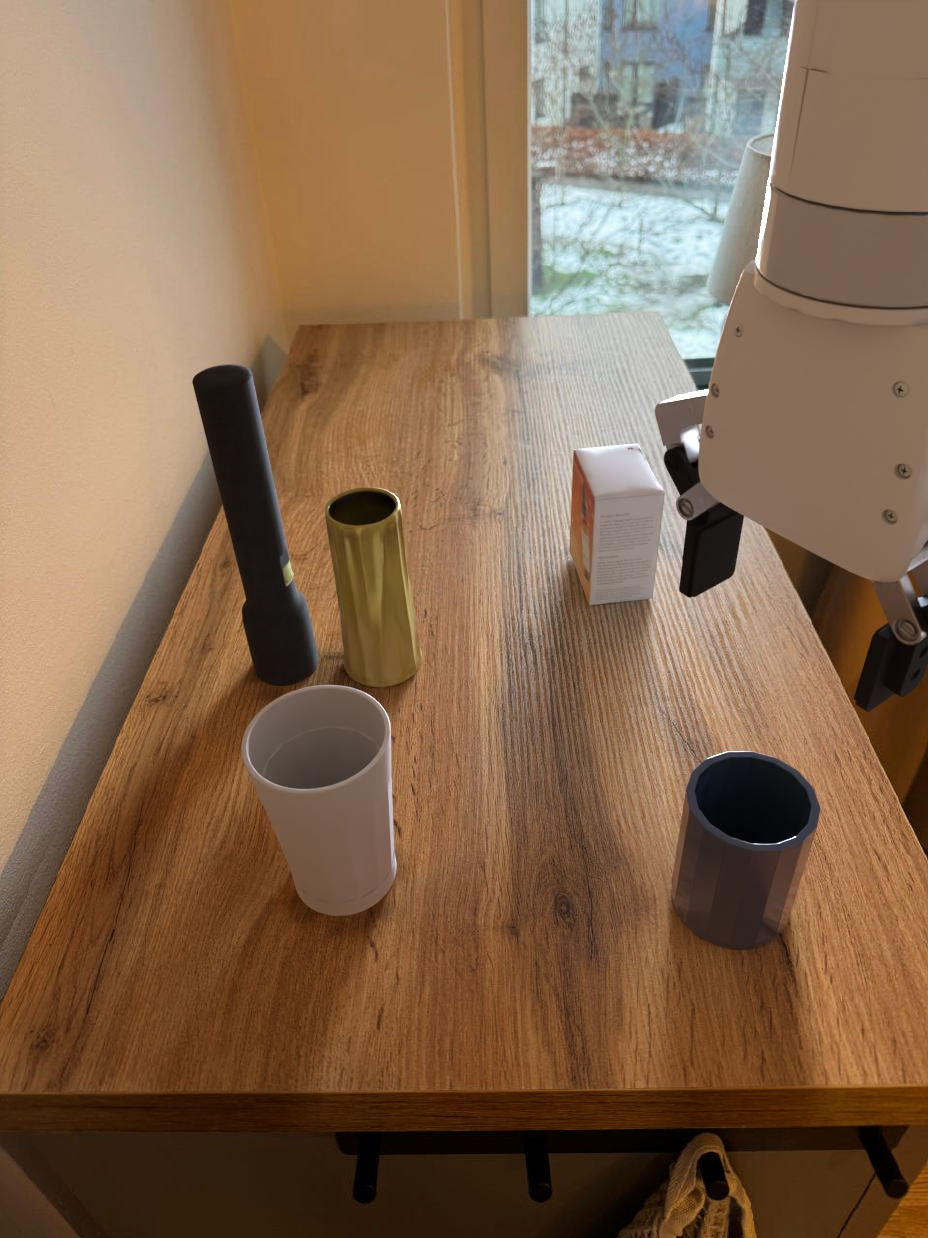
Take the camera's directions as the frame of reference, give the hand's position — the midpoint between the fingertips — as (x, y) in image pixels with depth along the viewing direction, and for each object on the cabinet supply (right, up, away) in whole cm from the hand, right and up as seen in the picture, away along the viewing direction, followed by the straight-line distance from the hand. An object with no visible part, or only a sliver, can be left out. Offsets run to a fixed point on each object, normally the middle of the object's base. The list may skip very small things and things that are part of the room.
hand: (787, 635), depth 41 cm
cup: (-22, -15, +16) cm, 31 cm away
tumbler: (+1, -16, +13) cm, 20 cm away
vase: (-21, -3, +31) cm, 37 cm away
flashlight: (-28, -3, +31) cm, 42 cm away
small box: (-2, +4, +38) cm, 38 cm away
